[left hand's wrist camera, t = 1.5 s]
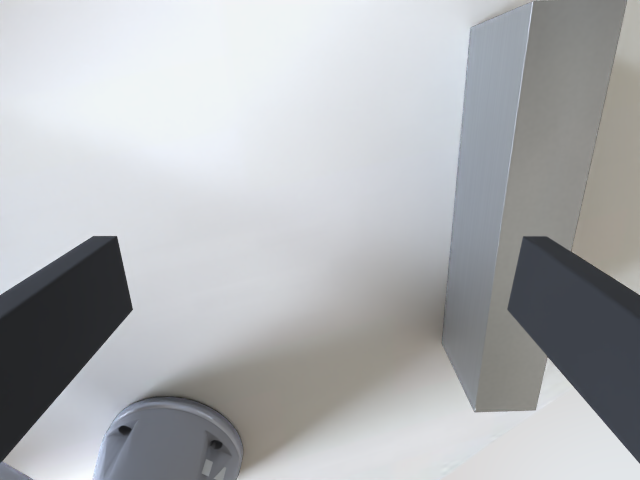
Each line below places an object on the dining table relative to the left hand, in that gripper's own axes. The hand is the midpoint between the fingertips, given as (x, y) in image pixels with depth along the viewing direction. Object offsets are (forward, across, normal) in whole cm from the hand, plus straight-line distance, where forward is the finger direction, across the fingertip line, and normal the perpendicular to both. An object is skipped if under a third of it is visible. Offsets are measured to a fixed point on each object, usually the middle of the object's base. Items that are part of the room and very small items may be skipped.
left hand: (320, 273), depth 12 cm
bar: (+20, -14, +4) cm, 25 cm away
